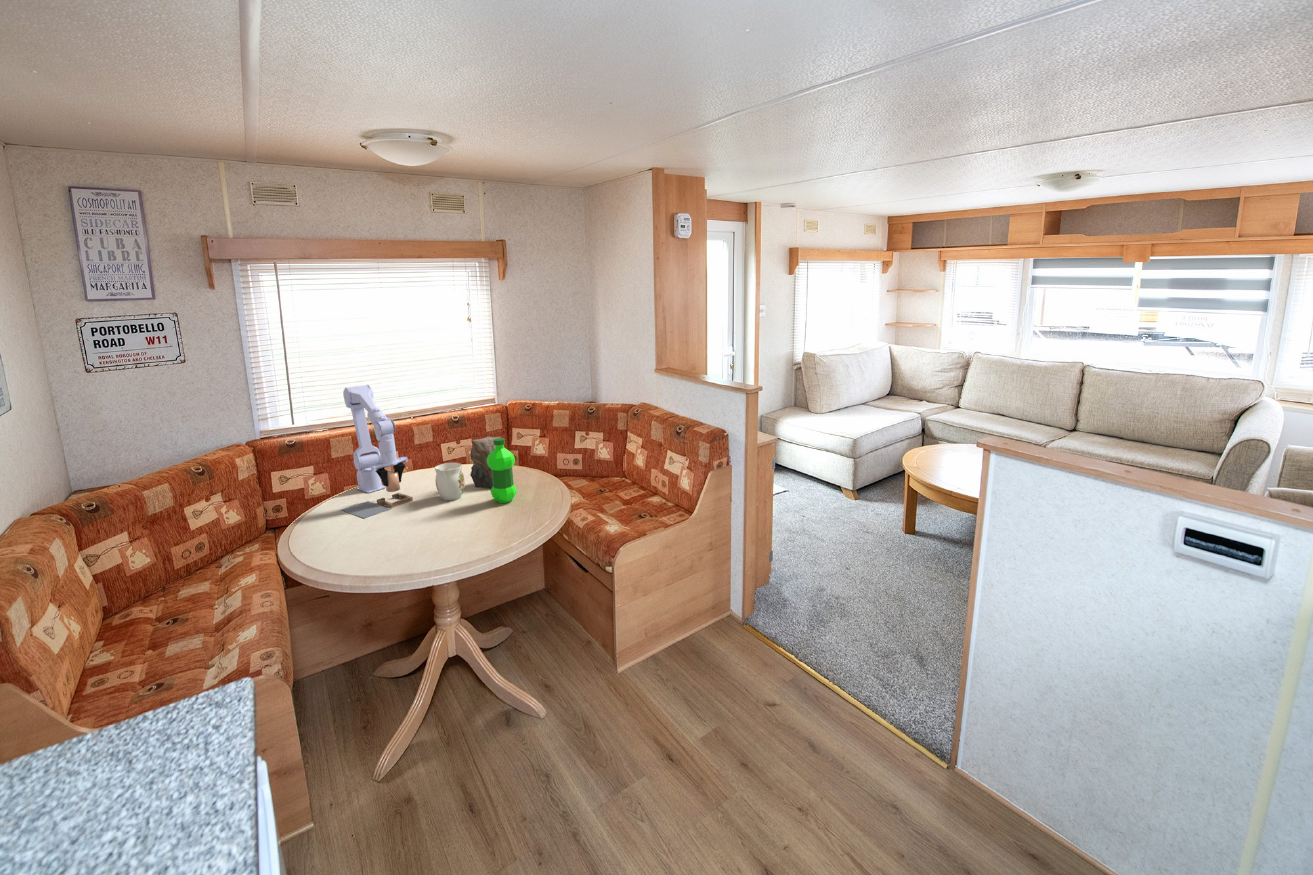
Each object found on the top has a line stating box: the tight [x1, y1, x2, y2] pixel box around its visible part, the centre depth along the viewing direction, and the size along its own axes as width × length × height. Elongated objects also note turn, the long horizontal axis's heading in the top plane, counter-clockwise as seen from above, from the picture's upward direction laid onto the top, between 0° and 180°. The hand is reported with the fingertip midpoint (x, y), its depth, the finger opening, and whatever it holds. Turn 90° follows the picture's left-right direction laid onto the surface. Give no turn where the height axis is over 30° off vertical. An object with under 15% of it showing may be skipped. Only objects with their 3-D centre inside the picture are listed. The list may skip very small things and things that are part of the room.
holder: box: [376, 492, 414, 509], centre depth 244 cm, size 10×10×2 cm
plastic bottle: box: [487, 437, 518, 504], centre depth 239 cm, size 10×10×25 cm
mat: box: [341, 500, 391, 519], centre depth 236 cm, size 16×11×1 cm
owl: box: [469, 435, 503, 490], centre depth 260 cm, size 13×13×20 cm
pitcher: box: [434, 462, 466, 501], centre depth 246 cm, size 11×18×14 cm, turn 6°
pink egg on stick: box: [380, 470, 401, 493], centre depth 243 cm, size 9×5×7 cm, turn 55°
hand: (392, 483), depth 242 cm, fingers closed on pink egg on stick, 5 cm apart
